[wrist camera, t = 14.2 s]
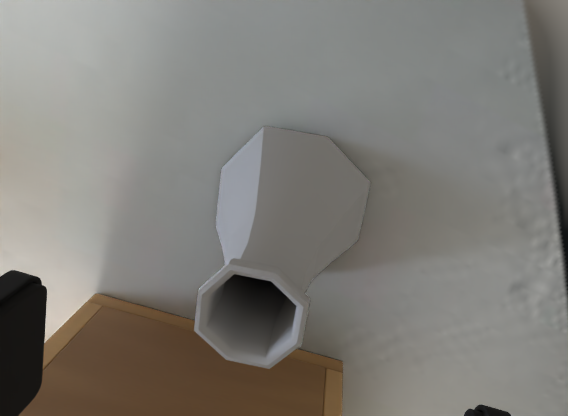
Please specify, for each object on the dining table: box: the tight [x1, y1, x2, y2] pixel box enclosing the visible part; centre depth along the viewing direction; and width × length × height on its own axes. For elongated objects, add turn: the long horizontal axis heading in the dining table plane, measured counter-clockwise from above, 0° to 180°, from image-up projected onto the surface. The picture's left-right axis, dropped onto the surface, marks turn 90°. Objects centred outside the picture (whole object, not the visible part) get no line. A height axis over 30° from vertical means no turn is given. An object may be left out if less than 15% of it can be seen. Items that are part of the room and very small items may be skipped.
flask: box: [194, 126, 371, 369], centre depth 17 cm, size 7×7×10 cm
